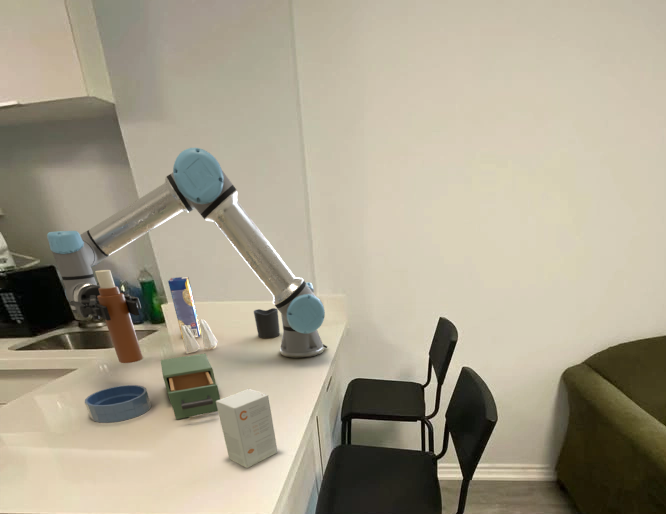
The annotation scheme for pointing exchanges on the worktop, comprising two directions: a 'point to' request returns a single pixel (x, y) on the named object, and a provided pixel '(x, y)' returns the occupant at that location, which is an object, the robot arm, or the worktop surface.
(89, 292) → the robot arm
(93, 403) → the bowl
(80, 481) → the worktop surface
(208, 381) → the drawer
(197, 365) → the cabinet
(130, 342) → the bottle
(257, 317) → the pen holder
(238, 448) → the small box
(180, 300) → the beverage box
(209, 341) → the shaker set
